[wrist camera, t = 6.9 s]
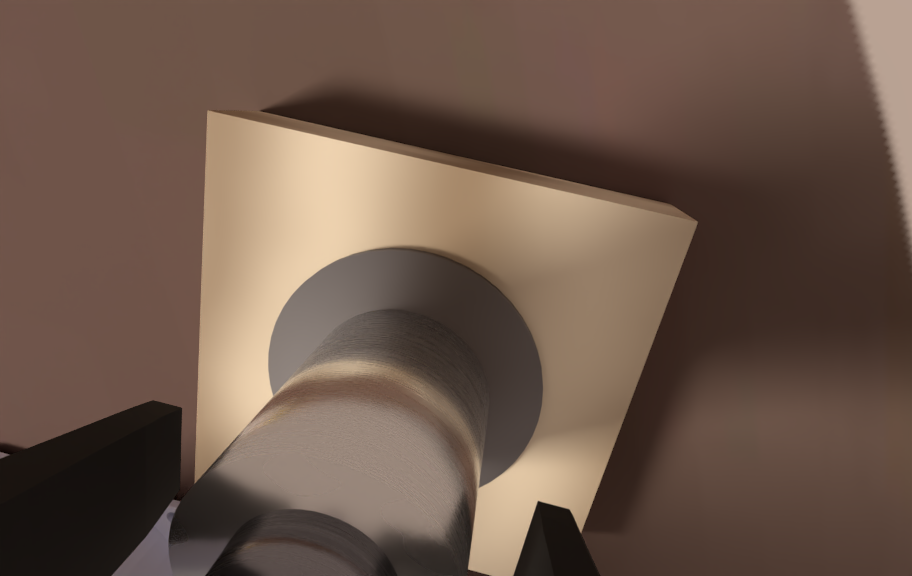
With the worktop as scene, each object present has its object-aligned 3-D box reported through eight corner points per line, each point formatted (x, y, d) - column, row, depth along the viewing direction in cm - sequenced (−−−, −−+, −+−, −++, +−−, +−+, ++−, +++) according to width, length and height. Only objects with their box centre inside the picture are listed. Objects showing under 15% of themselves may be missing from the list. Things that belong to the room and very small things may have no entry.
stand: (235, 447, 19) (188, 500, 16) (258, 111, 15) (199, 110, 12) (554, 532, 18) (558, 602, 16) (670, 204, 14) (702, 224, 12)
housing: (308, 453, 15) (138, 716, 8) (313, 295, 13) (107, 469, 7) (476, 485, 15) (433, 788, 8) (502, 326, 13) (477, 545, 6)
